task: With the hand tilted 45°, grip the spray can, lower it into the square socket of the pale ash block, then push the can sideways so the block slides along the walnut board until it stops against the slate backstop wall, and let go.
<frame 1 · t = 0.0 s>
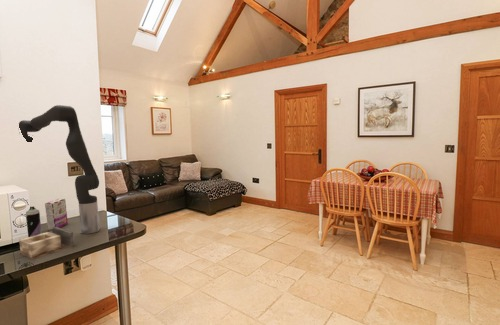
hand: (22, 174, 175), 31 cm above the counter, tool tilted 20°, fingers open, 8 cm apart
candy bar box: (57, 227, 167), on the counter
backstop board: (41, 252, 131), on the counter
spray can: (36, 244, 140), on the counter
socket block: (40, 243, 130), point 4 cm above the counter, slide at 0.0 cm
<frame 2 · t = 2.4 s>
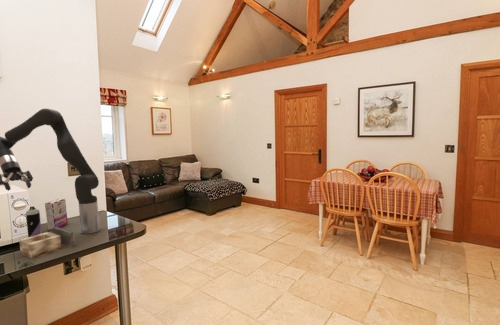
hand: (19, 188, 144), 28 cm above the counter, tool tilted 45°, fingers open, 8 cm apart
nothing on the counter moved.
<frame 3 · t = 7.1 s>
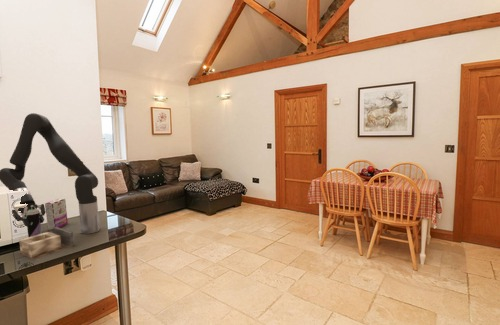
hand: (35, 223, 138), 11 cm above the counter, tool tilted 45°, fingers closed on spray can, 5 cm apart
spray can: (36, 244, 140), on the counter, touching gripper
everything else where it was.
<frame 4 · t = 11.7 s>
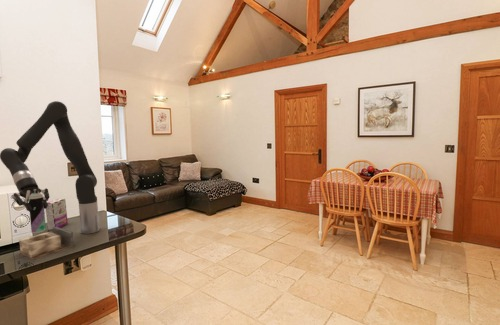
hand: (38, 208, 128), 21 cm above the counter, tool tilted 45°, fingers closed on spray can, 5 cm apart
spray can: (38, 231, 130), point 10 cm above the counter, touching gripper
everything else where it was.
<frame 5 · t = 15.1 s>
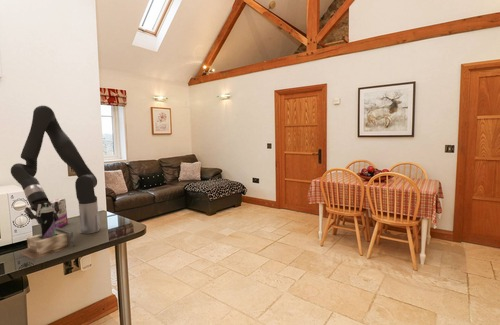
hand: (49, 222, 132), 14 cm above the counter, tool tilted 45°, fingers closed on spray can, 5 cm apart
spray can: (49, 244, 134), point 2 cm above the counter, touching gripper, socket block
socket block: (47, 241, 133), point 4 cm above the counter, slide at 3.0 cm, touching backstop board, spray can
everything else where it was.
when the fingers open (14 cm above the counter, at t = 16.3 s): spray can stays where it is, resting on socket block.
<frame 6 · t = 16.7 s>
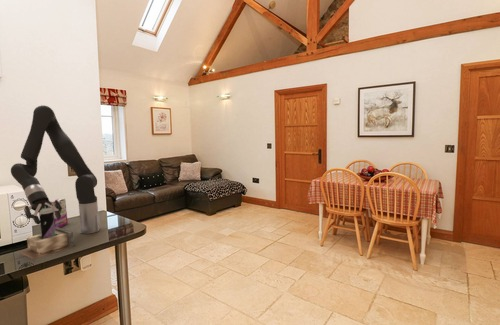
hand: (49, 220, 132), 14 cm above the counter, tool tilted 45°, fingers open, 8 cm apart
spray can: (49, 245, 134), point 2 cm above the counter, touching socket block
everything else where it was.
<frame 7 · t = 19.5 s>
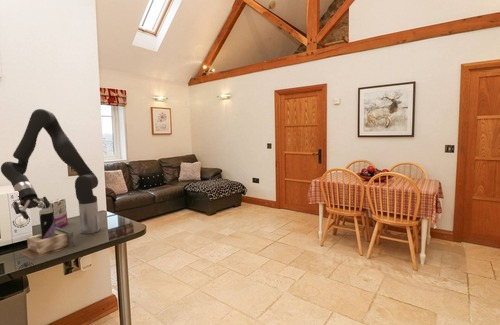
hand: (37, 216, 138), 15 cm above the counter, tool tilted 45°, fingers open, 8 cm apart
socket block: (47, 241, 133), point 4 cm above the counter, slide at 3.0 cm, touching spray can
everything else where it was.
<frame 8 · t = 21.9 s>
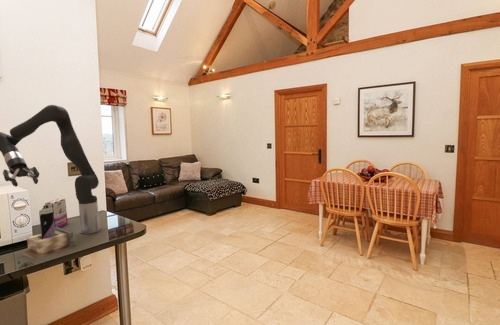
hand: (26, 184, 142), 31 cm above the counter, tool tilted 45°, fingers open, 8 cm apart
nothing on the counter moved.
at the end: spray can 0.7 cm off-centre on the socket block, point 0.9 cm above the socket block's base; socket block slide at 3.0 cm; spray can tilted 0° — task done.
